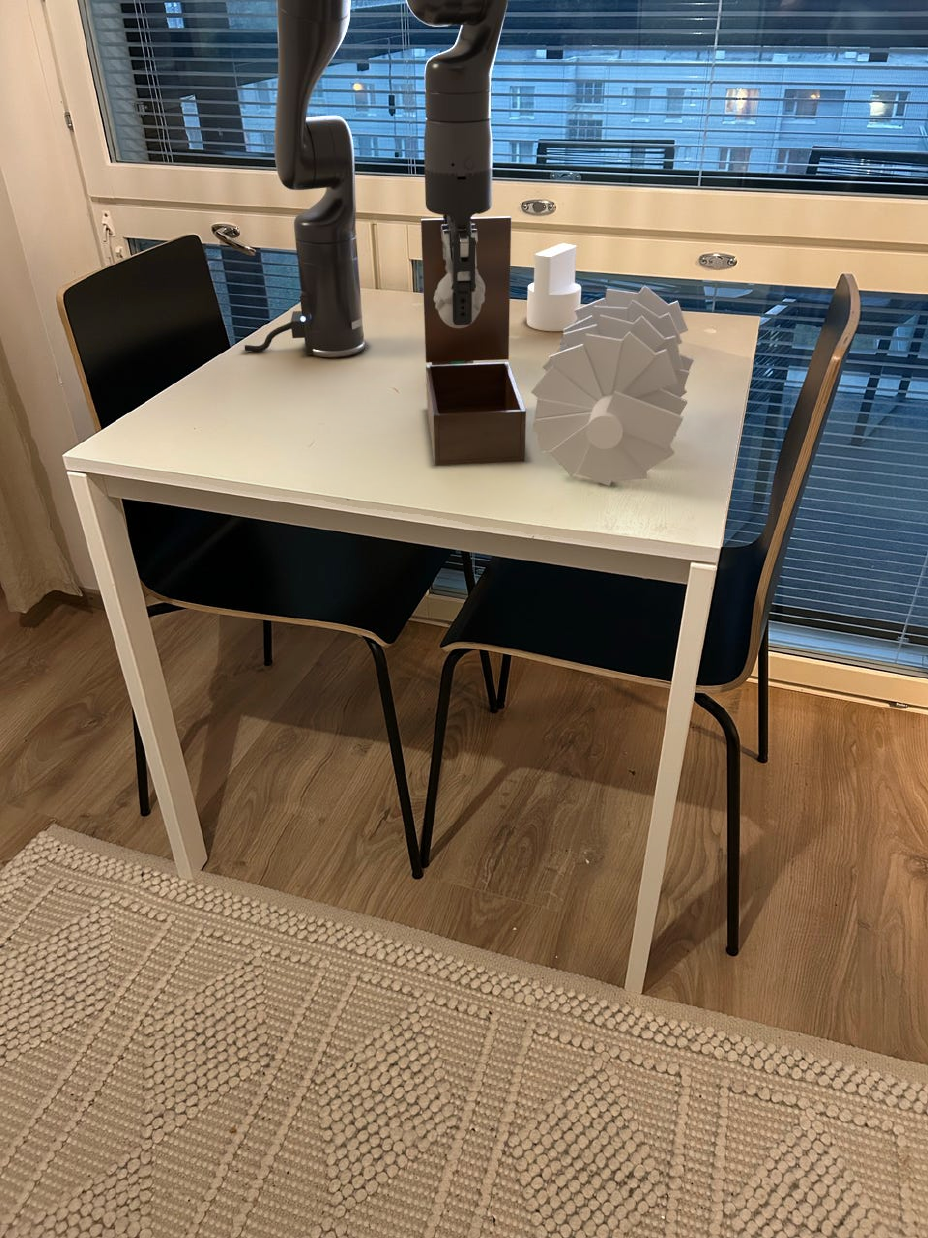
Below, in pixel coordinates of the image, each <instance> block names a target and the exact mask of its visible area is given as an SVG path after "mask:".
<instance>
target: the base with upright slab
mask: <svg viewBox="0 0 928 1238" xmlns="http://www.w3.org/2000/svg"><path fill="white" fill-rule="evenodd" d="M577 249H578V245H575V244H570V243H559V244H557V245H555V246H552V247H549V248H547V249H544V250H542V251H539V252H537V253H534V262H533V263H534V266H533V267H534V268H533V282H531V283H530V284H528V286H527V300H526V301H527V302H526V324H527V326H528V327H530V328H532V329H534V330H539V331H545V332H563V329H565V328H567V327H569V326H571V325H573V324H574V322H575V321H576V320H577V319H578V318H577V315H576V313H575V309H577V308H580V307H581V300H582V299H581V298H582V286H581V285H580V284H578V283H576V269H577V268H576V266H577V251H578V250H577Z"/></svg>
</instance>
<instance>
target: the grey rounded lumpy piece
mask: <svg viewBox="0 0 928 1238" xmlns="http://www.w3.org/2000/svg"><path fill="white" fill-rule="evenodd" d="M477 271H478V269H476V270H475V284H476V288H475V292H472V322H473V321H474V320H475V319H476V317H477V315H478V314H479V312H480V309H481V304H482V303H484V300H485V296H484V294H485V284H484V282H483V280H482V278H481V277H480V275H479V274H478V273H479V272H477ZM463 280H468V274H467V273H466V272H458V281H463ZM434 302H435V303H436V306H435V308H436V309H437V310H438V312H439V315H440V317H441V319H442V320H443V322H444V323H446V324H447V325H448V326H450V327H453V328H464V327H467V326H468V325H455V324H454V323H453V306H452V290H451V274H450V273H447V274H446V276H445V277H444V278H443V279H442V280H441V281H440V282H439V284H438V287H437V290H436V291H435V296H434ZM472 322H471V323H472ZM469 325H470V324H469Z"/></svg>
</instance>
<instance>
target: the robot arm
mask: <svg viewBox="0 0 928 1238" xmlns="http://www.w3.org/2000/svg"><path fill="white" fill-rule="evenodd" d="M405 3H406V5H407V7H408V9H409V11H410V13H412V14H413V16H414V17H415V18H416V19H417V20H419V22H422V24H425V25H427V26H430V27H453V26H456V27H457V26H460V30H459V33H458V36H457V38H456V41H455V44H454V45H453V46H452V47H451V48H450V49H447V50H445V51H443V52H440V53H437V54H435V55H433V56H431V57H430V58H429V59H428V60H427V62H426V64H425V69H424V99H425V100H424V102H425V103H424V104H425V106H424V107H425V125H424V126H425V127H424V135H423V137H424V138H423V140H424V141H423V154H424V155H423V157H424V158H423V159H424V194H425V198H424V199H425V207H426V209H427V210H428V211H429V212H431V213H433V214H436V215H439V216H442V218H443V219H444V225H441V239H442V241H443V246H442V251H443V259H444V261H445V264H446V266H445V270H446V273H450V274H451V290H452V306H453V323H454V324H455V325H469V324H471V322H472V292H475V288H476V284H475V270H476V267H477V261H476V245H477V242H478V235H477V229H475V224H471V217H473V216H474V215H481V214H483V213H486V212H488V211H490V209H491V208H492V206H493V205H492V204H493V133H492V123H491V121H492V120H491V109H492V108H491V107H492V105H491V104H492V102H491V101H492V100H491V99H492V97H491V95H492V92H491V91H492V90H491V89H492V72H493V68H494V64H495V59H496V55H497V51H498V46H499V42H500V37H501V33H502V29H503V25H504V20H505V17H506V12H507V8H508V3H509V0H405ZM276 13H277V15H276V17H277V53H278V54H277V56H278V57H277V58H278V59H277V60H278V61H277V62H278V63H277V68H278V70H277V87H276V88H277V89H276V102H275V103H276V105H275V119H274V120H275V121H274V122H275V123H274V138H273V140H274V141H273V143H274V144H273V145H274V146H273V147H274V148H273V149H274V161H275V168H276V172H277V175H278V178H279V180H280V182H281V184H282V185H283V186H284V187H285V188H286V189H289V190H291V191H307V190H318V189H325V192H324V194H323V196H322V197H321V198H320V200H319V201H317V202H316V203H315V204H314V205H313V206H310V208H308V209H306V210H304V211H302V212H300V213H299V214H297V215H296V217H295V218H294V220H293V231H294V240H295V249H296V258H297V268H298V277H299V287H300V293H299V300H300V301H299V302H300V309H301V310H293V311H292V313H291V316H290V317H291V318H290V322H288V323H286V324H285V323H284V324H282V325H281V326H278V327H276V328H274V329H272V330H271V331H270V332H269V333H268V334H267V335H266V337H265V339H264V340H263V341H264V342H263V343H262V344H260V345H250V344H244V351H245V352H253V353H261V352H263V351H266V350H267V349H268V348H269V347H270V345H271V343H272V341H273V339H275V338H276V337H277V336H279V335H280V334H282V333H284V332H287V331H290V330H291V339H304V346H305V354H306V355H305V356H316V357H320V358H321V357H322V358H340V357H341V358H342V357H349V356H353V355H356V354H358V353H360V352H362V351H363V350H365V347H366V342H365V334H364V325H363V322H364V321H363V310H362V295H361V281H360V270H359V269H360V267H359V255H358V242H357V240H358V239H357V226H356V224H357V223H356V221H357V202H356V201H357V200H356V199H357V198H356V163H355V148H354V140H353V136H352V132H351V129H350V127H349V124H348V122H347V121H346V120H345V119H344V118H343V117H341V116H339V115H322V116H309V117H308V116H307V115H308V112H309V111H308V110H309V107H310V101H311V98H312V96H313V93H314V91H315V88H316V86H317V84H318V82H319V80H320V79H321V77H322V75H323V73H325V71H326V69H327V67H328V66H329V64H330V63H331V61H332V59H333V58H334V57H335V54H336V52H337V51H338V50H339V48H340V46H341V44H342V43H343V40H344V39H345V36H346V34H347V31H348V27H349V23H350V18H351V0H276ZM458 272H466V273H467V274H468V280H463V281H458Z"/></svg>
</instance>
